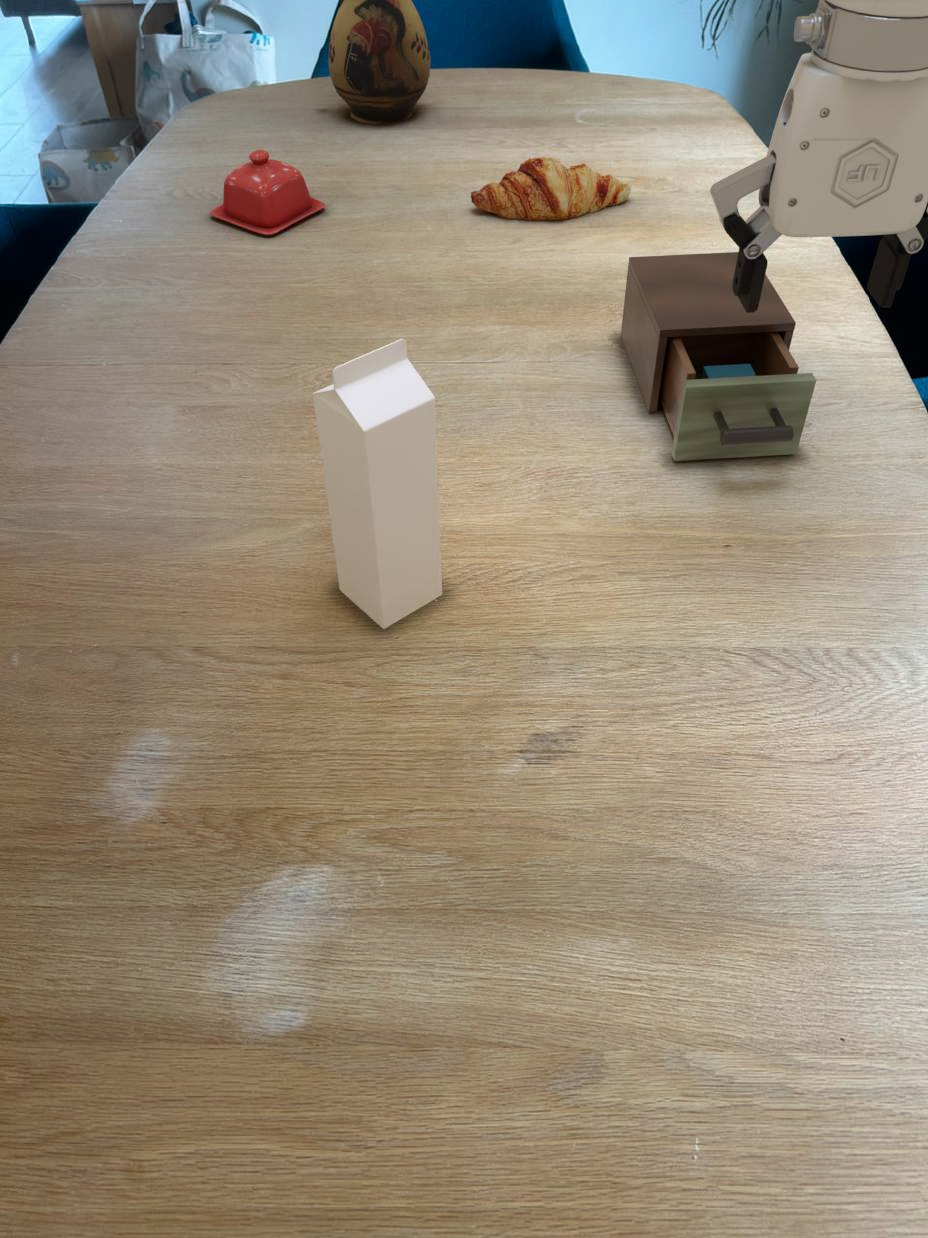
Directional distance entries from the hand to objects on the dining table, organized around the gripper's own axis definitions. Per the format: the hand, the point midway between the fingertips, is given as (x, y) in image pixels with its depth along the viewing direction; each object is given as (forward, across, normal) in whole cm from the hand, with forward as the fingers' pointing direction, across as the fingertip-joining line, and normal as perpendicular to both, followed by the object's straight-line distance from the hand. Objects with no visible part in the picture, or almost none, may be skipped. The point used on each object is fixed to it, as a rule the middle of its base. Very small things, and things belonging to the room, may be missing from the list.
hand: (812, 301), depth 72 cm
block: (+18, 0, +13) cm, 22 cm away
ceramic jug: (+21, -33, +102) cm, 109 cm away
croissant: (+21, -10, +64) cm, 68 cm away
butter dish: (+21, -47, +66) cm, 83 cm away
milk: (+21, -32, -7) cm, 39 cm away
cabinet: (+20, 0, +23) cm, 31 cm away
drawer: (+20, 0, +13) cm, 23 cm away
